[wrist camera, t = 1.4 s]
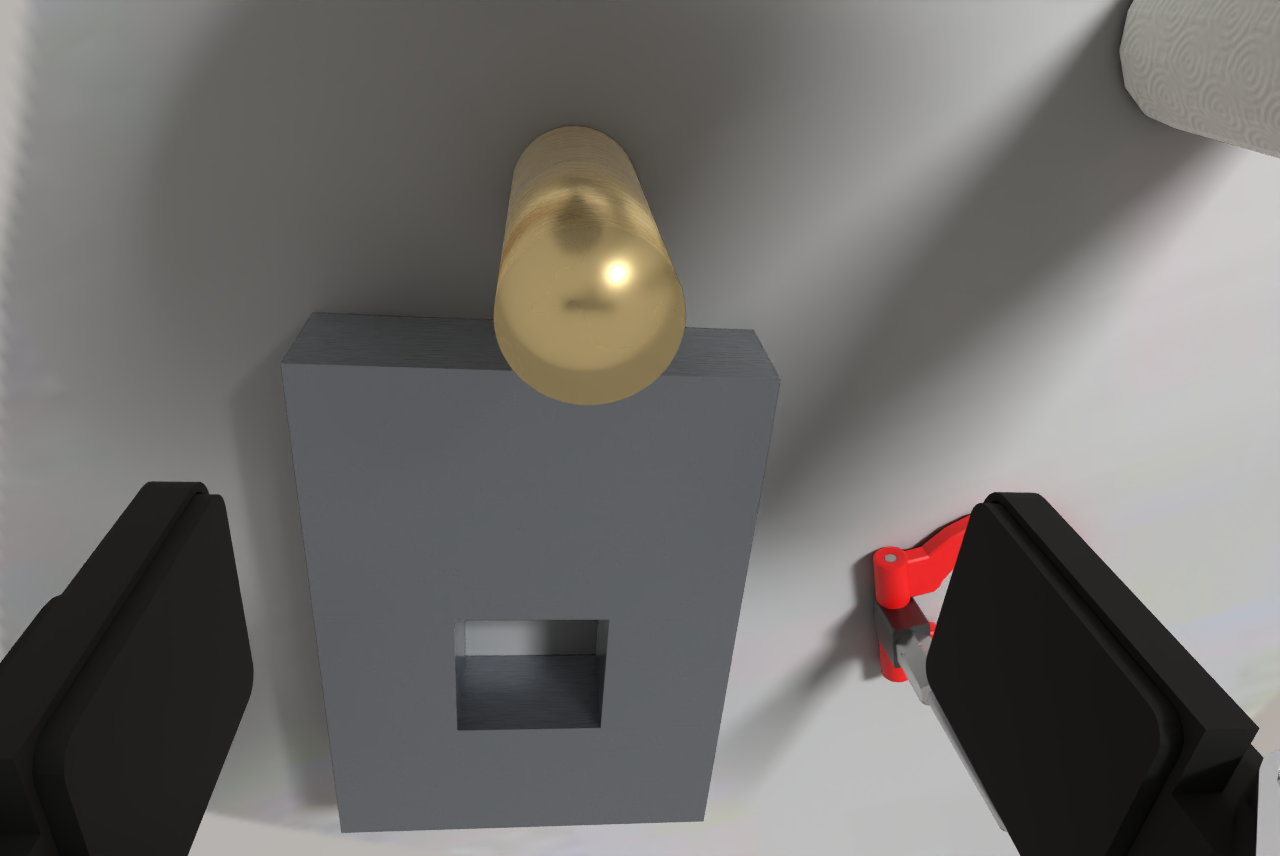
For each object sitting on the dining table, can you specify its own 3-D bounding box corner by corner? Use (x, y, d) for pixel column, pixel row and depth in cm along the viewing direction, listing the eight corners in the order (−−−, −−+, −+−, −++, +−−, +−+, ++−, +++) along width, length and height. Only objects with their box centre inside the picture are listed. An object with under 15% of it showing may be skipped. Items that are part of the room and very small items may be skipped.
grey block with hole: (312, 313, 29) (280, 363, 25) (753, 330, 31) (780, 379, 27) (359, 753, 39) (341, 832, 35) (689, 746, 41) (703, 821, 37)
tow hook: (1079, 478, 36) (863, 532, 35) (1344, 718, 25) (1033, 800, 24) (1067, 627, 40) (874, 676, 40) (1289, 890, 29) (1023, 961, 28)
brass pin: (512, 121, 26) (493, 219, 17) (642, 130, 27) (695, 230, 17) (511, 249, 28) (493, 402, 19) (632, 255, 29) (675, 407, 19)
